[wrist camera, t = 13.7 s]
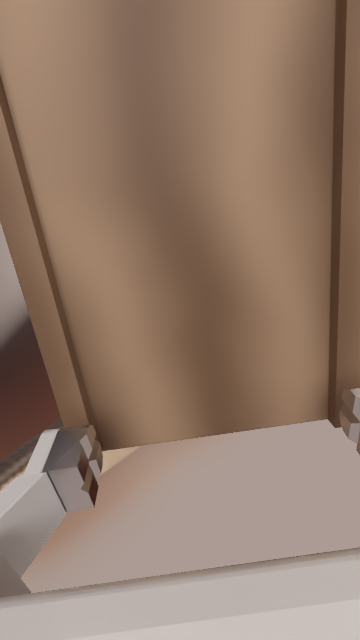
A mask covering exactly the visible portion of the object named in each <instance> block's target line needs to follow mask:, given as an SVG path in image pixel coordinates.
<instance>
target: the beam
mask: <svg viewBox="0 0 360 640" xmlns="http://www.w3.org/2000/svg"><path fill="white" fill-rule="evenodd" d="M0 222H1V225H2V228H3V231H4V234H5V237H6V241H7V244H8V247H9V251H10V254H11V257H12V260H13V263H14V267H15V270H16V273H17V276H18V279H19V283H20V286H21V289H22V292H23V296H24V299H25V302H26V305H27V308H28V312H29V315H30V318H31V322H32V325H33V328H34V331H35V334H36V338H37V341H38V344H39V347H40V351H41V354H42V357H43V360H44V363H45V367H46V370H47V373H48V376H49V380H50V383H51V386H52V389H53V393H54V396H55V399H56V402H57V406H58V409H59V412H60V415H61V419H62V422H63V425H64V428H67V427H75V426H84V425H93V427H94V429H95V432H96V436H95V440H96V441H98V442H99V443H100V446H101V449H102V451H106V450H113V449H120V448H127V447H134V446H141V445H148V444H155V443H162V442H169V441H176V440H183V439H191V438H198V437H205V436H211V435H219V434H226V433H233V432H239V431H247V430H254V429H260V428H268V427H275V426H281V425H289V424H296V423H303V422H310V421H316V420H324V419H328V420H329V421H330V422H331V423H332V425H333V426H334V427H335V428H338V427H342V426H341V423H340V418H339V413H340V408H341V407H342V406H343V405H344V404H345V402H344V401H343V400H342V398H341V397H342V392H343V390H344V389H345V388H351V387H358V386H360V0H0Z"/></svg>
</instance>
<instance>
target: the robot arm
mask: <svg viewBox="0 0 360 640" xmlns="http://www.w3.org/2000/svg"><path fill="white" fill-rule="evenodd" d="M341 398H342V400H343V401H344V402H345V404H344V405H343V406H342V407H341V408H340V413H339V418H340V423H341V426H342V428H343V431H344V433H345V434H346V436H347V437H348V438H349V439H350V440H352V441H354V442H356V443H357V451H358V453H359V454H360V386H358V387H351V388H345V389H344V390H343V392H342V397H341ZM95 436H96V432H95V429H94V427H93V425H84V426H75V427H67V428H60V429H53V430H45V431H44V432H43V433H42V434H41V436H40V438H39V441H38V443H37V445H36V447H35V449H34V452H33V454H32V456H31V458H30V461H29V463H28V465H27V467H26V469H25V472H24V474H23V476H18V477H17V478H15V479H14V480H13V481H12V482H11V483H10V484H9V485H8V486H7V487H6V488H4V489H3V490H2V491H1V492H0V640H360V548H354V549H346V550H339V551H332V552H325V553H317V554H310V555H303V556H296V557H289V558H281V559H274V560H267V561H260V562H253V563H246V564H239V565H231V566H225V567H217V568H210V569H203V570H195V571H189V572H181V573H175V574H167V575H160V576H153V577H146V578H138V579H131V580H124V581H116V582H109V583H103V584H95V585H88V586H80V587H73V588H66V589H59V590H52V591H45V592H37V593H31V592H30V590H29V589H28V587H27V586H26V585H25V583H24V582H23V581H22V579H21V576H22V575H23V574H24V572H25V571H26V570H27V568H28V567H29V565H30V564H31V563H32V561H33V560H34V558H35V557H36V556H37V554H38V553H39V551H40V550H41V549H42V547H43V546H44V545H45V543H46V542H47V540H48V539H49V538H50V536H51V535H52V533H53V532H54V531H55V529H56V528H57V527H58V525H59V524H60V522H61V521H62V520H63V518H64V517H65V515H66V512H70V511H76V510H82V509H88V508H93V507H94V506H95V501H96V496H97V491H98V484H97V481H96V479H97V477H98V476H99V475H100V474H101V470H102V462H103V455H102V449H101V446H100V443H99V442H98V441H96V440H95Z"/></svg>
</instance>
